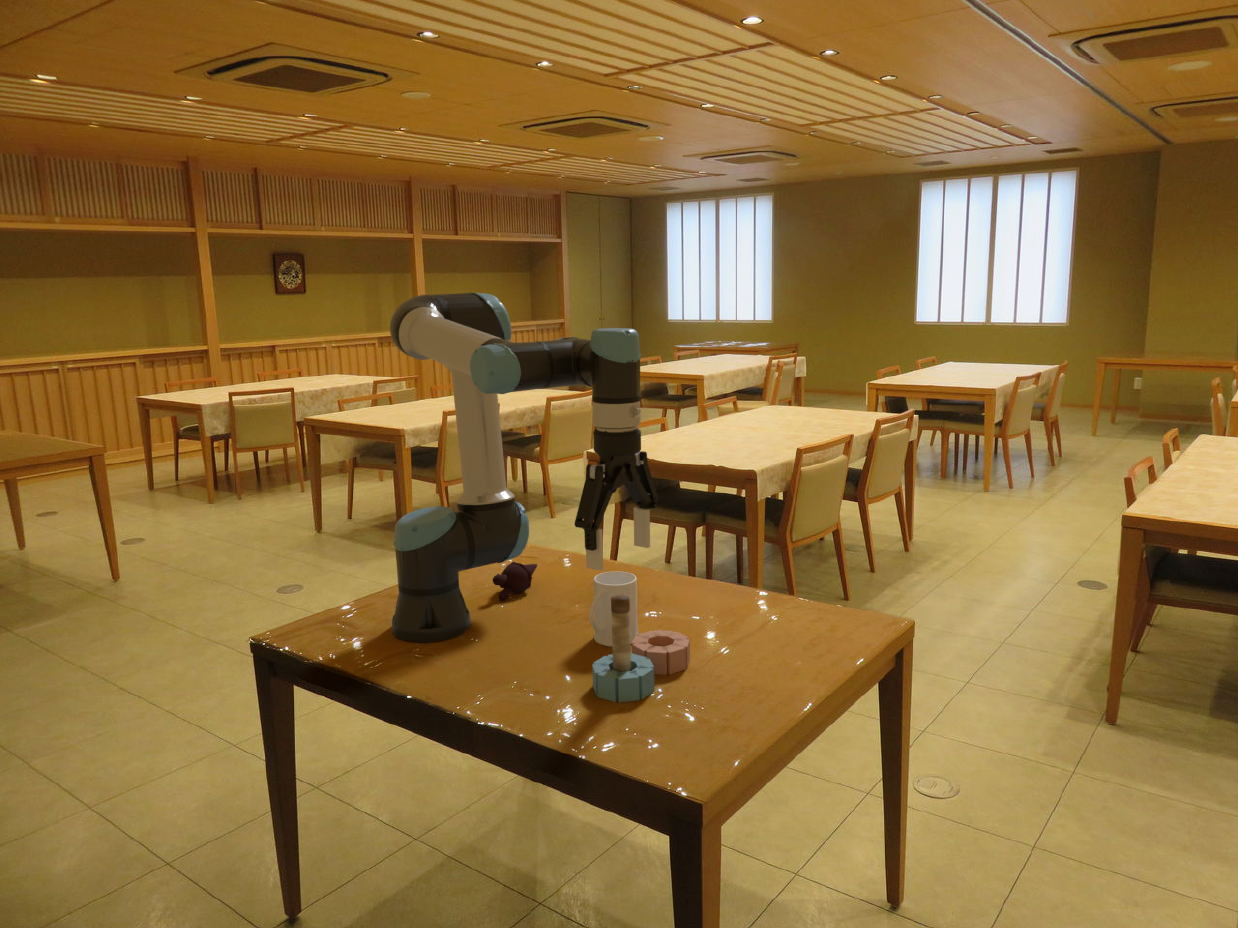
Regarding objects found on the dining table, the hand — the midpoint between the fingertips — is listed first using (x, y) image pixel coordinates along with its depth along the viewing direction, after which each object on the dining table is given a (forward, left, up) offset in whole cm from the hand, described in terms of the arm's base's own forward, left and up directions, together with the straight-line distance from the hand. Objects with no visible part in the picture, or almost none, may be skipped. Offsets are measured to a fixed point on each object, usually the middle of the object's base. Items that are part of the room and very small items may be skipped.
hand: (619, 557), depth 146 cm
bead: (0, 0, -23) cm, 23 cm away
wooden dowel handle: (0, 0, -23) cm, 23 cm away
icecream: (-46, +27, -23) cm, 58 cm away
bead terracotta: (0, +12, -23) cm, 26 cm away
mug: (-13, +15, -23) cm, 30 cm away
